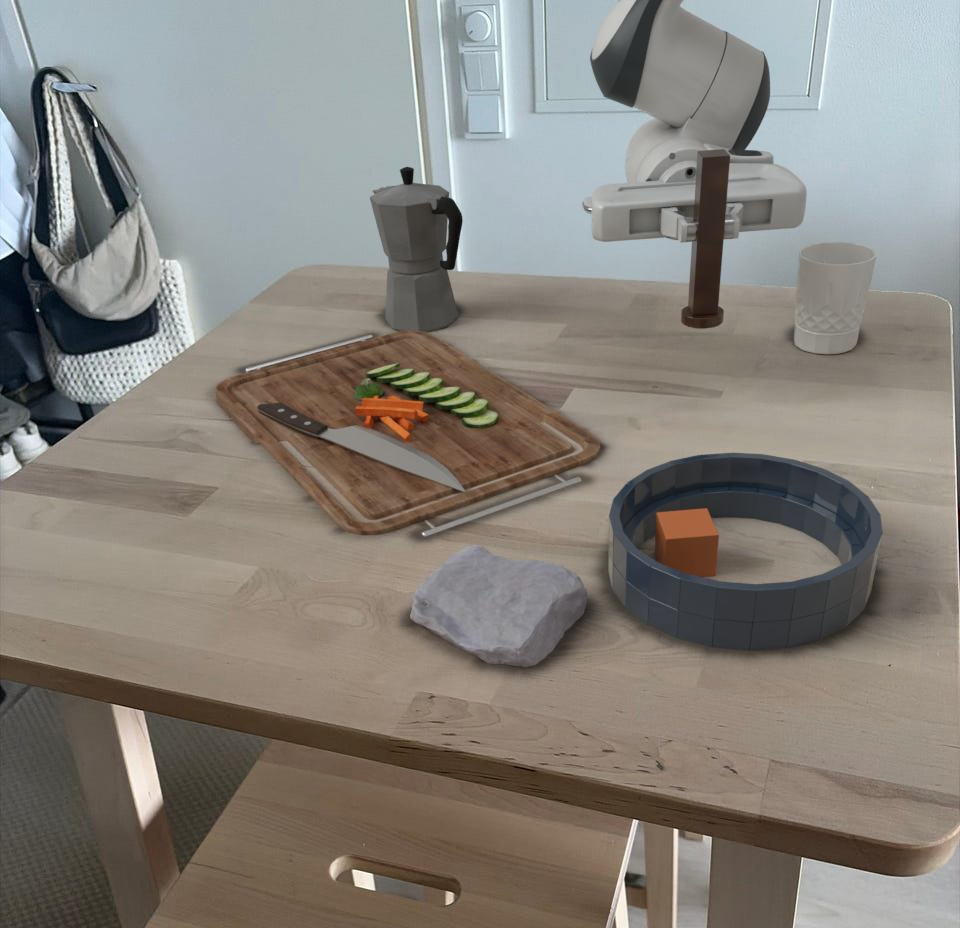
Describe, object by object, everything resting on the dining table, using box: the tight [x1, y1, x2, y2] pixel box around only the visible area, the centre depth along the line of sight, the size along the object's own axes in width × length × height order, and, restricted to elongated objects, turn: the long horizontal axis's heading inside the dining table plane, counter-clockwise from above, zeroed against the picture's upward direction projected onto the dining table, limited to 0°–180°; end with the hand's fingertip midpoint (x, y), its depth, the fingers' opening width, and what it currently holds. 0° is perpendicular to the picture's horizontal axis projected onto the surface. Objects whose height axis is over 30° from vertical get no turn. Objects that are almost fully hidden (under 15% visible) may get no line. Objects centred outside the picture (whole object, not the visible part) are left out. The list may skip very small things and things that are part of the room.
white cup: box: [793, 241, 878, 355], centre depth 112 cm, size 8×8×10 cm
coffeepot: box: [369, 166, 464, 333], centre depth 124 cm, size 15×9×18 cm, turn 43°
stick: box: [680, 149, 730, 330], centre depth 94 cm, size 4×4×15 cm
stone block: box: [409, 544, 588, 668], centre depth 77 cm, size 12×5×10 cm
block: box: [654, 508, 720, 578], centre depth 80 cm, size 4×4×4 cm
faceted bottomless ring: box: [607, 452, 884, 652], centre depth 78 cm, size 20×20×6 cm
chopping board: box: [214, 330, 601, 538], centre depth 105 cm, size 45×27×3 cm, turn 30°
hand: (710, 231), depth 93 cm, fingers closed on stick, 2 cm apart
